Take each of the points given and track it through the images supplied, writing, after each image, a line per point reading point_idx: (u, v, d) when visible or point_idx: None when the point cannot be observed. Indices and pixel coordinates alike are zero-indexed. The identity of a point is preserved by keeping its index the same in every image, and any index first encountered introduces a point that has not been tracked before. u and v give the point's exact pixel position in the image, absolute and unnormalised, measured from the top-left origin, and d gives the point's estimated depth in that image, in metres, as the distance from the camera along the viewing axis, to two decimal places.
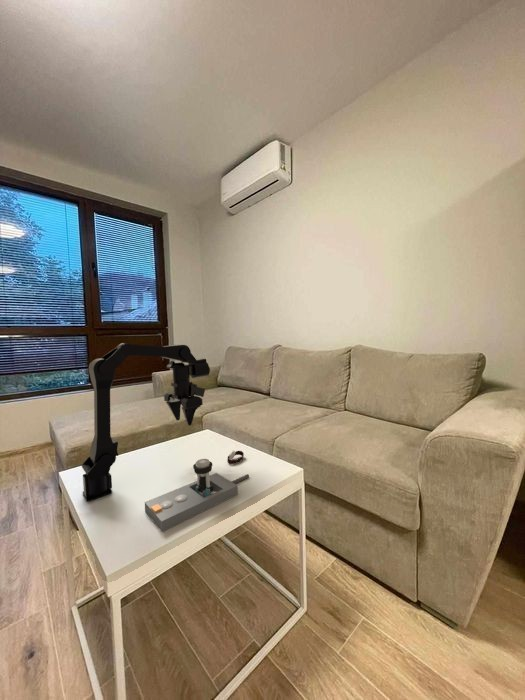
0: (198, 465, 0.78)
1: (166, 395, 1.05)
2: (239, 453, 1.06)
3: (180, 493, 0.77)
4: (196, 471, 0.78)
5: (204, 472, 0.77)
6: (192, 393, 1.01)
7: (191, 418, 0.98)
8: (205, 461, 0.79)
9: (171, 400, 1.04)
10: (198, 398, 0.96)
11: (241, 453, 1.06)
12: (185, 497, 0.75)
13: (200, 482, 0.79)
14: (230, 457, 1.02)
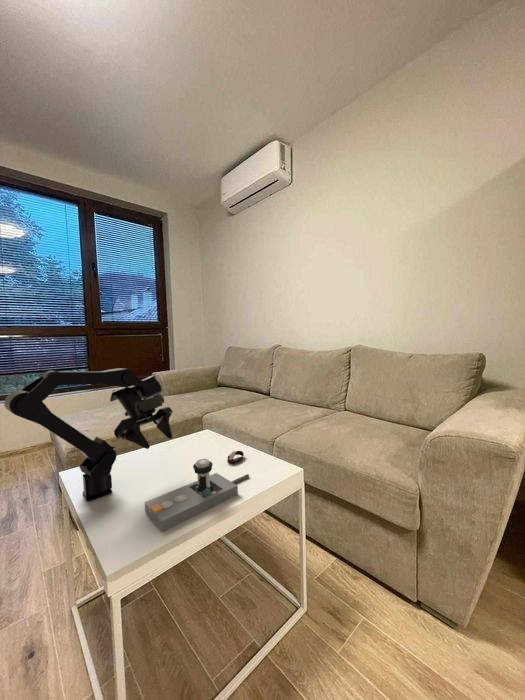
0: (198, 465, 0.78)
1: None
2: (239, 453, 1.06)
3: (180, 493, 0.77)
4: (196, 471, 0.78)
5: (204, 472, 0.77)
6: (138, 413, 0.85)
7: (142, 441, 0.81)
8: (205, 461, 0.79)
9: (157, 422, 0.93)
10: (120, 422, 0.80)
11: (241, 453, 1.06)
12: (185, 497, 0.75)
13: (200, 481, 0.79)
14: (230, 457, 1.02)
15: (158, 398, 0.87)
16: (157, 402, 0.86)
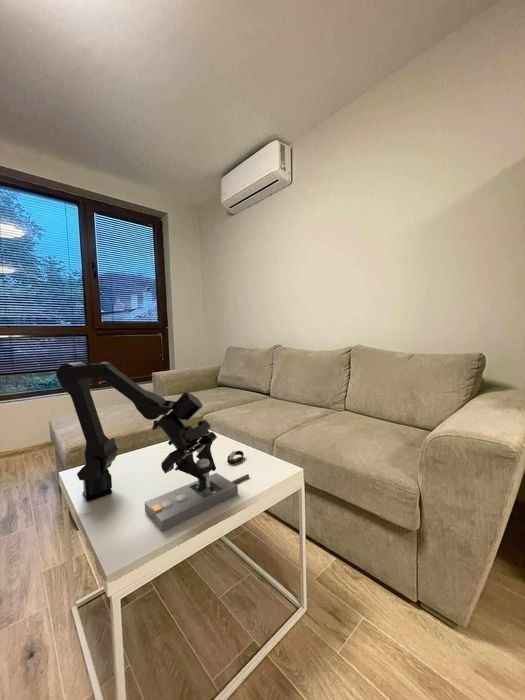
0: (198, 465, 0.78)
1: None
2: (239, 453, 1.06)
3: (180, 493, 0.77)
4: None
5: (204, 472, 0.77)
6: (184, 443, 0.78)
7: (196, 472, 0.76)
8: (205, 461, 0.79)
9: (197, 451, 0.85)
10: (168, 456, 0.73)
11: (241, 453, 1.06)
12: (185, 497, 0.75)
13: (200, 481, 0.79)
14: (230, 457, 1.02)
15: (205, 425, 0.80)
16: (204, 430, 0.79)
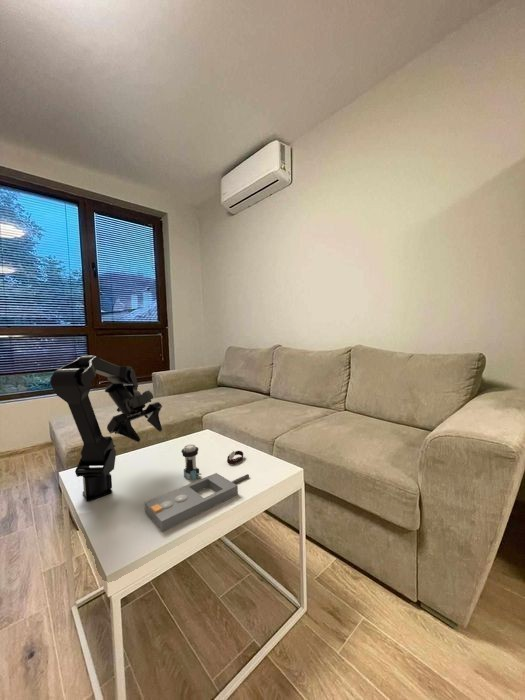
0: (186, 449, 0.90)
1: None
2: (239, 453, 1.06)
3: (180, 493, 0.77)
4: (184, 454, 0.89)
5: (191, 455, 0.89)
6: (128, 409, 0.92)
7: (133, 435, 0.89)
8: (192, 446, 0.91)
9: (148, 416, 1.01)
10: (111, 419, 0.87)
11: (241, 453, 1.06)
12: (185, 497, 0.75)
13: (188, 464, 0.91)
14: (230, 457, 1.02)
15: (147, 395, 0.94)
16: (146, 399, 0.93)
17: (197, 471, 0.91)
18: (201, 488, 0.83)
